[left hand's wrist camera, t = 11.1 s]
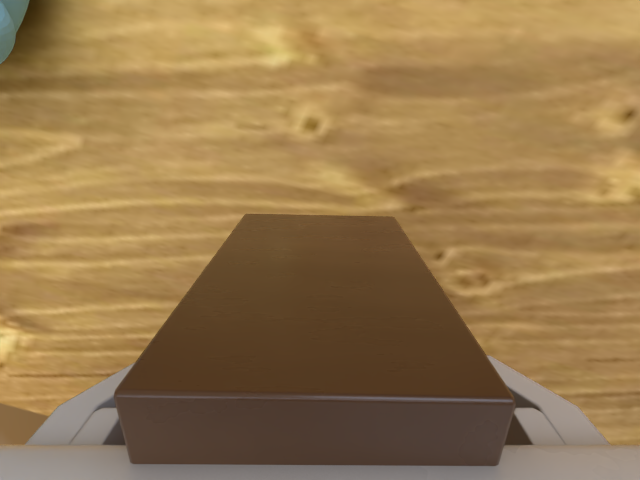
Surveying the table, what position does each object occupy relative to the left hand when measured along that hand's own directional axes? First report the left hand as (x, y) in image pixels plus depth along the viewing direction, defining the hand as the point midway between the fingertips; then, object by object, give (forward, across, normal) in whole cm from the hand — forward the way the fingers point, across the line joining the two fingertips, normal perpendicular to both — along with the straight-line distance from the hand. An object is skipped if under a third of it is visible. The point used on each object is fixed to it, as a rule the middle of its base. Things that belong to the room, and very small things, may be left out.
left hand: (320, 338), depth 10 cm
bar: (+3, 0, -10) cm, 10 cm away
